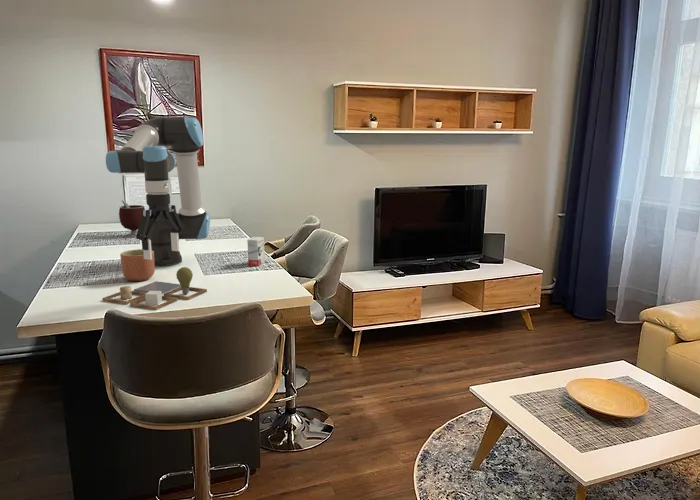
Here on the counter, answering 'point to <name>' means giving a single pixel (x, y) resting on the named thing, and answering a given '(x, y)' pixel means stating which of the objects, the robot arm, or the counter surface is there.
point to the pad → (158, 287)
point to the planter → (137, 265)
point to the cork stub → (125, 292)
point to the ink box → (256, 251)
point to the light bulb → (184, 278)
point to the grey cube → (153, 297)
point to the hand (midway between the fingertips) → (162, 255)
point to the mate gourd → (130, 218)
